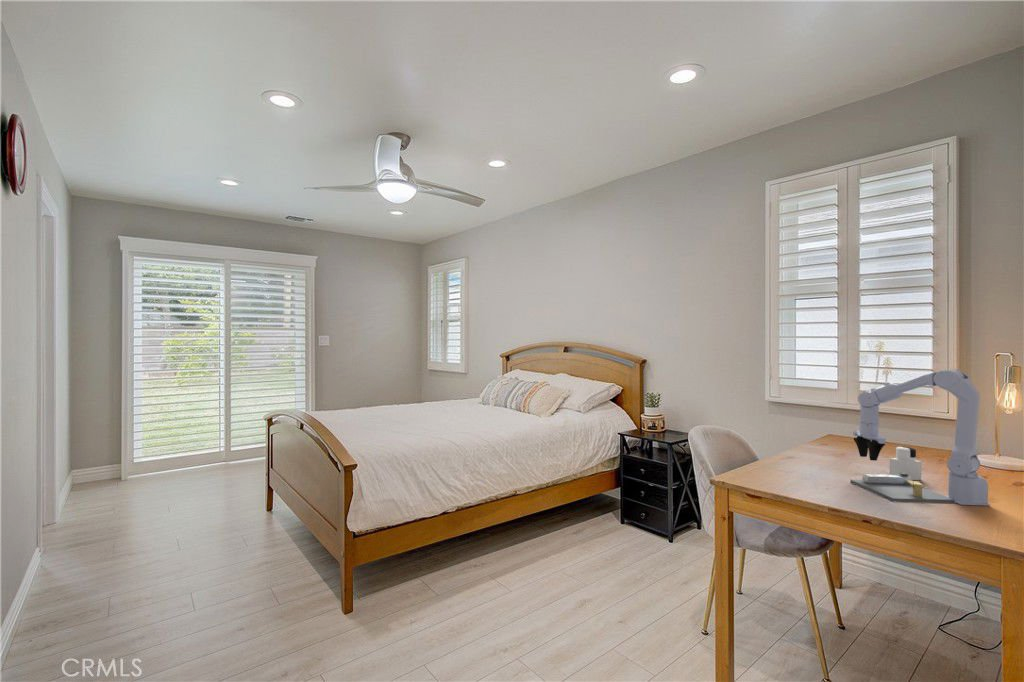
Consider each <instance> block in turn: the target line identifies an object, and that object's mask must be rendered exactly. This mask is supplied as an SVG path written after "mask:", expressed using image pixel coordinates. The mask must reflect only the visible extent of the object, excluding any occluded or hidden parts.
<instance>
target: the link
mask: <svg viewBox="0 0 1024 682" xmlns="http://www.w3.org/2000/svg"><path fill="white" fill-rule="evenodd" d="M861 480H862V481H865V482H867V483H889V484H908V483H907V480H908V481H911V477H910V476H902V475H890V474H880V473H879V474H878V473H877V474H876V473H875V474H873V473H872V474H870V473H867V474H866V473H862V477H861Z"/></svg>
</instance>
